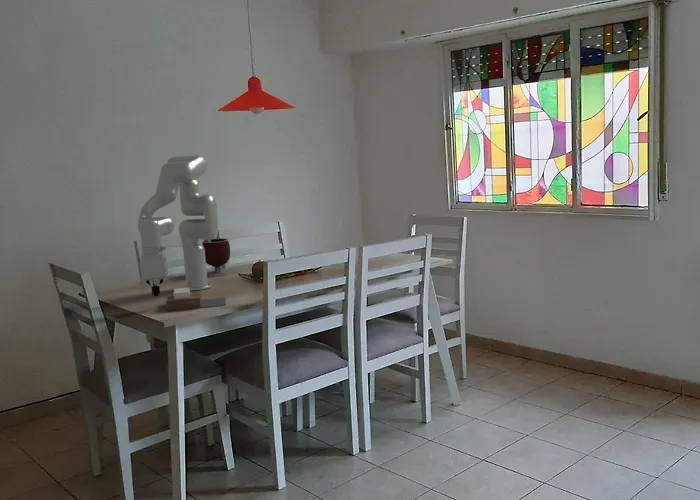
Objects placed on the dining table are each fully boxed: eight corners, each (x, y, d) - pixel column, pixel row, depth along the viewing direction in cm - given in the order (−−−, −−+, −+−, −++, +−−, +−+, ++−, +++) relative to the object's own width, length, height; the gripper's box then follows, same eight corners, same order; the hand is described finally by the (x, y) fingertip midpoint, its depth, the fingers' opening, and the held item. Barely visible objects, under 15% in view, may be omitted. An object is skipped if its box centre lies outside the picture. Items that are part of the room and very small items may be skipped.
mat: (201, 300, 286) (201, 299, 286) (225, 298, 288) (225, 297, 288) (200, 308, 272) (200, 307, 272) (225, 305, 274) (225, 304, 274)
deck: (169, 303, 283) (168, 294, 283) (201, 300, 286) (200, 291, 285) (167, 311, 270) (166, 301, 269) (200, 308, 272) (199, 298, 272)
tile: (175, 294, 281) (174, 288, 280) (190, 293, 282) (189, 287, 282) (174, 299, 272) (173, 293, 272) (189, 297, 273) (189, 291, 273)
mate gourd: (237, 271, 348) (234, 232, 345) (222, 276, 336) (218, 236, 332) (211, 270, 354) (208, 232, 351) (195, 276, 341) (192, 236, 338)
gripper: (171, 247, 277) (175, 292, 280) (133, 250, 274) (138, 295, 277) (170, 250, 270) (175, 295, 273) (131, 253, 267) (136, 299, 270)
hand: (156, 295), depth 275 cm, fingers closed
